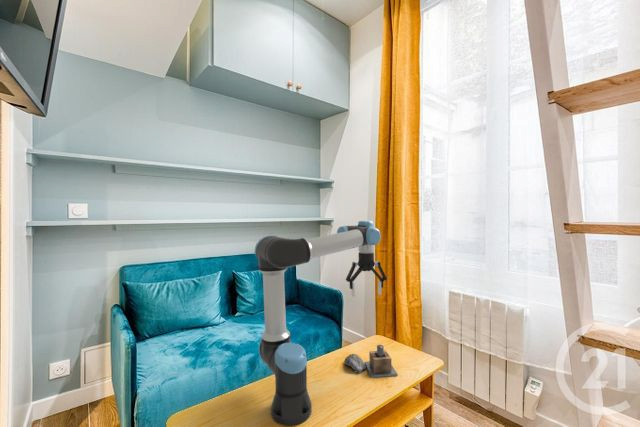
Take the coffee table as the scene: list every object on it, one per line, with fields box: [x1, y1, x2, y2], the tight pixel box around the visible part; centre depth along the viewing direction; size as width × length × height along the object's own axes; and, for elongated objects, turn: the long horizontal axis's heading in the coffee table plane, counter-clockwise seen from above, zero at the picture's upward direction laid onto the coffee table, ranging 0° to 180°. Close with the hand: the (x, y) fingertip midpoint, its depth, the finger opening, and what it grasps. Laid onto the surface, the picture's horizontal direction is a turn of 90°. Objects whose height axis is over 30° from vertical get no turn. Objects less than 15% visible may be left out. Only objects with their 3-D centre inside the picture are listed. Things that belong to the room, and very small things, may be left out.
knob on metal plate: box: [363, 344, 398, 379], centre depth 138 cm, size 12×12×11 cm
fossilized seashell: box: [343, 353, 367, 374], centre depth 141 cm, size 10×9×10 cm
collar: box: [368, 349, 392, 373], centre depth 138 cm, size 8×8×6 cm
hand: (366, 294), depth 146 cm, fingers open, 13 cm apart
